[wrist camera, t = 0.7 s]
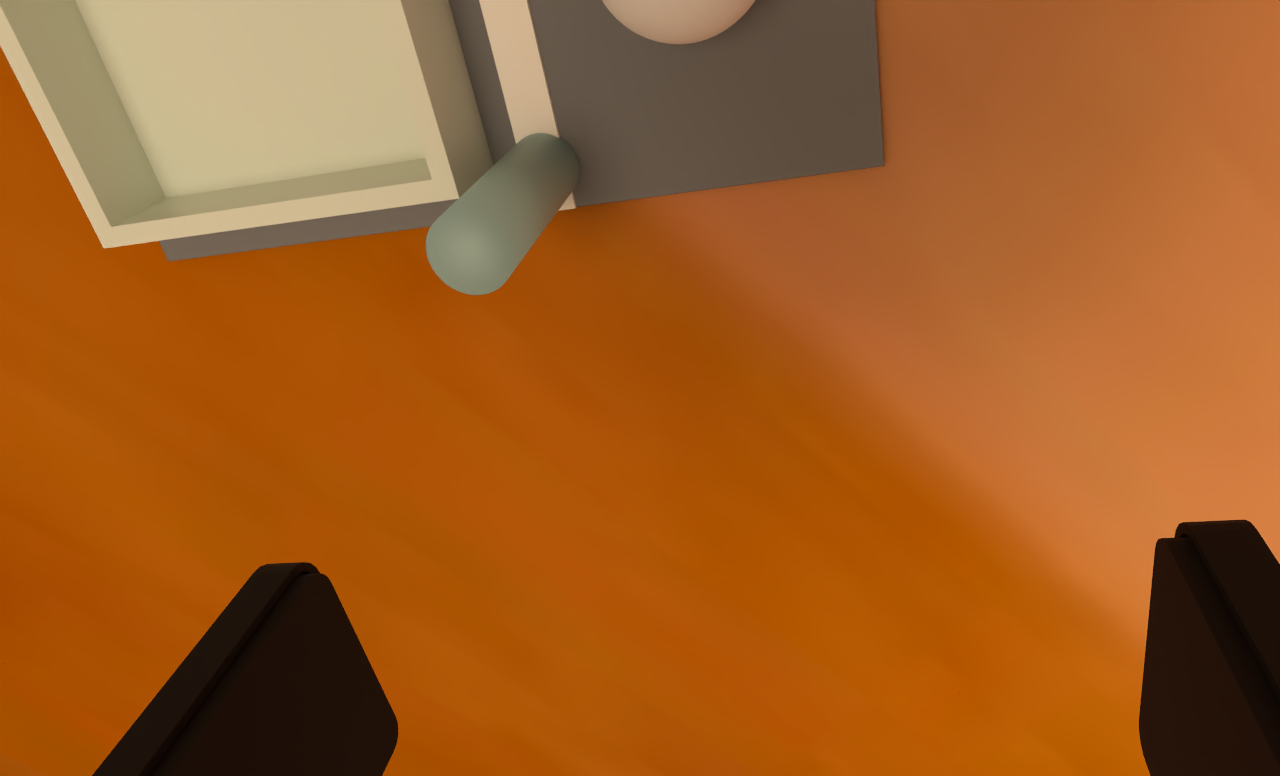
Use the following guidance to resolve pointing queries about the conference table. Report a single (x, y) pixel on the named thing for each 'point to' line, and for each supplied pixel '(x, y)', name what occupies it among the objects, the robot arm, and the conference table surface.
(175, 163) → the tray
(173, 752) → the robot arm
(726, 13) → the ball
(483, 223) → the post
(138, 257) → the conference table surface
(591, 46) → the mat
